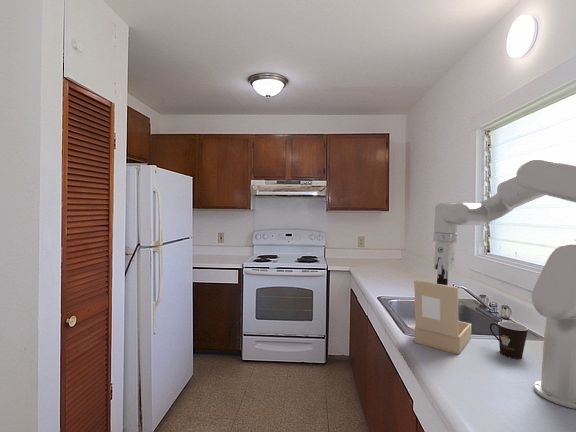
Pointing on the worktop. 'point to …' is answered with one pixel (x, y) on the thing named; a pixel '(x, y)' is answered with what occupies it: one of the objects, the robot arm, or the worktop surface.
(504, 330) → the coffee mug
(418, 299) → the lid
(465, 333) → the tan shallow rectangular box
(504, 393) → the worktop surface
